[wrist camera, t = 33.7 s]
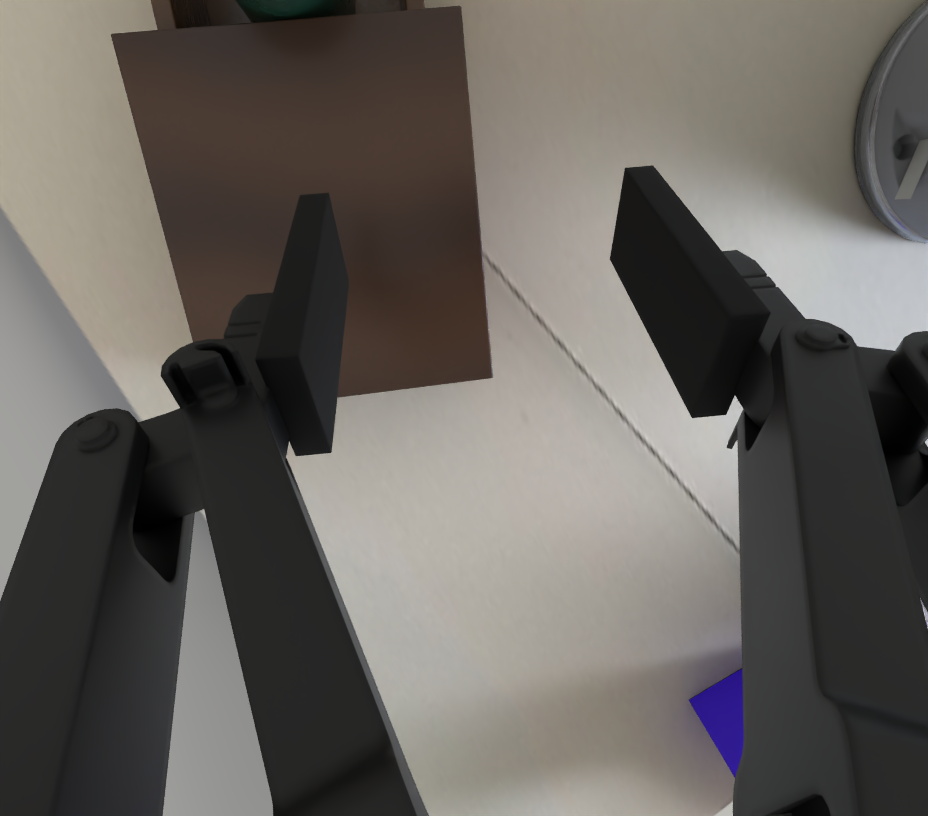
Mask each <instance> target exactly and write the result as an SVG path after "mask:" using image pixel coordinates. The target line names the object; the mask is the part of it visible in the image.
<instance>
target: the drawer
mask: <svg viewBox="0 0 928 816" xmlns="http://www.w3.org/2000/svg"><path fill="white" fill-rule="evenodd" d="M151 3H152V8H153V12H154V16H155V20H156V24H157V28H158V30H166V29H178V28H190V27H203V26H215V25H228V24H240V23H252V22H251V20H250V19H249V18H248V16H247V15H246V14H245V12H244V11H243V10H242V9H241V7H240V6H239V5H238V3H237V2H236V1H235V0H151ZM414 9H425V8H424V0H356V14H364V13H376V12H389V11H401V10H414Z"/></svg>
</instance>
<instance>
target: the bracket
mask: <svg viewBox="0 0 928 816" xmlns="http://www.w3.org/2000/svg"><path fill="white" fill-rule="evenodd" d="M689 701H690V703H691V705H692V707H693V708H694V710H695V712H696V713H697V715H698V717H699V718H700V720H701V722H702V723H703V725H704V727H705V728H706V730H707V732H708V733H709V735H710V737H711V738H712V740H713V742H714V743H715V745H716V747H717V748H718V750H719V752H720V753H721V755H722V757H723V758H724V760H725V762H726V764H727V765H728V767H729V769H730V770H731V772H732V774H733V775H734V777H736V772H737V769H738V766H739V763H740V760H741V756H742V751H743V739H744V729H743V679H742V669H740V670H738V671H737V672H735V673H733V674H732V675H730V676H728V677H727V678H725V679H723V680H722V681H720V682H718V683H717V684H715V685H713V686H712V687H710V688H708V689H707V690H705V691H703V692H702V693H700V694H698V695H697V696H695V697H693V698H692V699H690V700H689Z"/></svg>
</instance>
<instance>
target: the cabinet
mask: <svg viewBox="0 0 928 816" xmlns="http://www.w3.org/2000/svg"><path fill="white" fill-rule="evenodd" d="M111 37H112V41H113V45H114V49H115V52H116V56H117V60H118V64H119V67H120V71H121V75H122V78H123V82H124V86H125V90H126V93H127V97H128V101H129V105H130V108H131V112H132V116H133V119H134V123H135V127H136V131H137V134H138V138H139V142H140V146H141V149H142V153H143V157H144V160H145V164H146V168H147V172H148V175H149V179H150V183H151V187H152V190H153V194H154V198H155V201H156V205H157V209H158V213H159V216H160V220H161V224H162V228H163V231H164V235H165V239H166V242H167V246H168V250H169V254H170V257H171V261H172V265H173V269H174V272H175V276H176V280H177V283H178V287H179V291H180V295H181V298H182V302H183V306H184V310H185V313H186V317H187V321H188V324H189V328H190V332H191V336H192V339H193V342H196V341H201V340H205V339H224V336H223V335H224V332H225V330H226V327H228V321H229V318H230V315H231V312H232V310H233V308H234V307H235V306H236V305H237V304H238V303H239V302H240V301H241V300H242V299H243V298H244V297H245V296H246V295H251V294H262V293H273V291H274V288H275V284H276V280H277V277H278V273H279V269H280V266H281V262H282V258H283V254H284V251H285V247H286V243H287V240H288V236H289V232H290V229H291V225H292V221H293V218H294V214H295V210H296V207H297V203H298V199H299V196H300V195H306V194H318V193H329V196H330V200H331V205H332V209H333V213H334V218H335V222H336V226H337V231H338V235H339V239H340V244H341V248H342V253H343V257H344V261H345V266H346V270H347V274H348V279H349V290H348V299H347V309H346V318H345V328H344V337H343V347H342V357H341V366H340V376H339V385H338V395H337V398H338V397H346V396H354V395H362V394H370V393H378V392H386V391H393V390H401V389H409V388H417V387H425V386H433V385H441V384H449V383H457V382H465V381H473V380H480V379H488V378H493V371H492V359H491V348H490V336H489V324H488V313H487V301H486V290H485V278H484V266H483V255H482V243H481V231H480V220H479V208H478V197H477V185H476V173H475V162H474V150H473V139H472V127H471V115H470V104H469V92H468V81H467V69H466V57H465V46H464V34H463V22H462V11H461V6H451V7H438V8H426V9H414V10H401V11H389V12H376V13H364V14H352V15H339V16H327V17H314V18H302V19H290V20H277V21H265V22H252V23H240V24H228V25H215V26H203V27H190V28H178V29H166V30H153V31H141V32H128V33H116V34H111Z"/></svg>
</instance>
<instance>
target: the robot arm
mask: <svg viewBox="0 0 928 816" xmlns="http://www.w3.org/2000/svg"><path fill="white" fill-rule="evenodd" d="M855 162H856V170H857V175H858V179H859V183H860V186H861V189H862V192H863V194H864V196H865V198H866V201H867V203H868V204H869V206H870V208H871V209H872V211H873V212H874V213H875V215H876V216H877V217H878V218H879V220H880V221H881V222H883V223H884V224H885V225H886V226H887V227H888V228H889V229H891V230H892V231H893V232H895V233H897V234H899V235H900V236H902V237H905V238H907V239H910V240H913V241H917V242H921V243H928V0H927V1H926V2H925V3H924V4H922V5H921V6H920V7H919V8H918V9H917V10H916V11H915V12H914V13H913V14H912V15H911V16H910V17H909V18H908V19H907V20H906V21H905V22H904V23H903V25H902V26H901V27H900V28H899V29H898V31H897V32H896V33H895V35H894V36H893V37H892V39H891V40H890V42H889V43H888V45H887V46H886V48H885V49H884V51H883V52H882V54H881V56H880V58H879V60H878V61H877V63H876V65H875V67H874V69H873V71H872V74H871V76H870V78H869V80H868V83H867V86H866V88H865V91H864V94H863V97H862V101H861V104H860V108H859V113H858V117H857V124H856V131H855ZM610 260H611V262H612V264H613V266H614V268H615V270H616V272H617V274H618V276H619V278H620V280H621V282H622V284H623V285H624V287H625V289H626V291H627V293H628V295H629V297H630V299H631V301H632V303H633V305H634V307H635V309H636V311H637V313H638V315H639V316H640V318H641V320H642V322H643V324H644V326H645V328H646V330H647V332H648V334H649V336H650V338H651V340H652V342H653V344H654V345H655V347H656V349H657V351H658V353H659V355H660V357H661V359H662V361H663V363H664V365H665V367H666V369H667V371H668V373H669V375H670V376H671V378H672V380H673V382H674V384H675V386H676V388H677V390H678V392H679V394H680V396H681V398H682V400H683V402H684V404H685V406H686V407H687V409H688V411H689V413H690V415H691V417H692V418H697V417H708V416H718V415H726V414H727V411H728V409H729V407H730V405H731V402H732V400H733V398H734V396H736V397H737V399H738V401H739V402H740V404H741V405H742V407H743V411H742V413H741V415H740V418H739V420H738V422H737V424H736V426H735V428H734V430H733V433H732V435H731V437H730V439H729V441H728V445H727V448H730V449H732V448H733V446H734V444H735V442H736V441H737V440H738V481H739V531H740V580H741V630H742V679H743V729H744V739H743V751H742V756H741V760H740V763H739V766H738V769H737V772H736V777H735V784H734V792H733V816H928V628H927V624H926V620H925V616H924V612H923V608H922V604H921V600H922V602H923V604H924V606H925V608H926V610H927V612H928V447H927V445H926V444H925V441H926V440H927V439H928V331H923V332H914V333H911V334H910V335H908V336H906V337H904V339H903V340H902V342H901V343H900V345H899V346H898V348H897V349H896V351H891V350H883V349H874V348H866V347H858V346H857V345H856V344H855V342H854V340H853V338H852V337H851V336H850V335H849V334H848V333H846V332H845V331H844V330H843V329H841V328H839V327H837V326H835V325H832V324H830V323H828V322H824V321H819V320H815V319H805V318H804V317H803V315H802V314H801V313H800V312H799V311H798V310H797V308H796V307H795V306H794V305H793V304H792V303H791V302H790V300H789V299H788V298H787V297H786V296H785V295H784V293H783V292H782V291H781V290H780V289H779V288H778V287H776V284H775V283H774V282H773V281H772V280H771V278H770V277H767V274H766V273H765V271H764V270H763V269H762V268H761V267H760V266H759V264H758V263H757V262H756V261H755V260H753V259H751V258H750V257H748V256H746V255H744V254H743V253H741V252H739V251H738V250H733V251H721V250H720V248H719V247H718V246H717V245H716V243H715V242H714V241H713V240H712V238H711V237H710V236H709V235H708V233H707V232H706V231H705V230H704V228H703V227H702V226H701V225H700V223H699V222H698V221H697V220H696V218H695V217H694V216H693V215H692V213H691V212H690V211H689V210H688V208H687V207H686V206H685V205H684V203H683V202H682V201H681V200H680V198H679V197H678V196H677V195H676V193H675V192H674V191H673V190H672V188H671V187H670V186H669V185H668V183H667V182H666V181H665V180H664V178H663V177H662V176H661V175H660V173H659V172H658V171H657V170H656V168H655V167H654V166H642V167H630V168H625V171H624V177H623V183H622V189H621V195H620V202H619V208H618V214H617V220H616V226H615V232H614V238H613V244H612V250H611V256H610ZM348 290H349V279H348V274H347V270H346V266H345V261H344V257H343V253H342V248H341V244H340V239H339V235H338V231H337V226H336V222H335V218H334V213H333V209H332V205H331V200H330V196H329V193H318V194H306V195H300V196H299V199H298V203H297V207H296V210H295V214H294V218H293V221H292V225H291V229H290V232H289V236H288V240H287V243H286V247H285V251H284V254H283V258H282V262H281V266H280V269H279V273H278V277H277V280H276V284H275V288H274V291H273V293H262V294H251V295H246V296H245V297H244V298H243V299H242V300H241V301H240V302H239V303H238V304H237V305H236V306H235V307H234V308H233V310H232V312H231V315H230V318H229V321H228V327H226V330H225V332H224V335H223V336H224V339H205V340H201V341H196V342H193V343H190V344H188V345H186V346H184V347H181V348H180V349H178V350H177V351H176V352H174V353H173V354H172V355H170V356H169V357H168V358H167V360H166V361H165V363H164V364H163V365H162V370H161V377H162V379H163V380H164V382H165V384H166V385H167V387H168V388H169V390H170V392H171V393H172V395H173V397H174V398H175V400H176V402H177V403H178V405H179V407H180V408H179V409H177V410H174V411H172V412H169V413H167V414H163V415H160V416H157V417H154V418H151V419H148V420H145V421H142V422H137V420H136V419H135V418H134V417H133V416H132V415H131V413H130V412H128V411H125V410H121V409H104V410H100V411H97V412H94V413H91V414H88V415H86V416H85V417H83V418H81V419H79V420H78V421H76V422H74V423H73V424H72V425H71V426H69V427H68V428H67V429H66V430H65V431H64V432H63V433H62V434H61V436H60V438H59V440H58V441H57V443H56V445H55V448H54V451H53V453H52V456H51V459H50V462H49V465H48V468H47V470H46V473H45V476H44V479H43V482H42V485H41V487H40V490H39V493H38V496H37V499H36V502H35V505H34V507H33V510H32V513H31V516H30V519H29V522H28V524H27V527H26V530H25V533H24V535H23V538H22V541H21V544H20V547H19V550H18V552H17V555H16V558H15V561H14V564H13V567H12V570H11V572H10V575H9V578H8V581H7V584H6V586H5V589H4V592H3V595H2V598H1V601H0V816H162V815H163V806H164V796H165V787H166V777H167V768H168V758H169V750H170V740H171V730H172V721H173V712H174V702H175V693H176V683H177V674H178V665H179V655H180V646H181V637H182V627H183V618H184V609H185V599H186V590H187V580H188V570H189V561H190V552H191V542H192V533H193V524H194V514H195V512H197V511H200V510H202V509H204V510H205V514H206V518H207V523H208V527H209V531H210V535H211V540H212V544H213V548H214V553H215V557H216V561H217V565H218V570H219V574H220V578H221V582H222V587H223V591H224V595H225V599H226V604H227V608H228V612H229V616H230V621H231V625H232V629H233V634H234V638H235V642H236V647H237V650H238V655H239V659H240V664H241V667H242V672H243V676H244V681H245V685H246V689H247V693H248V698H249V702H250V706H251V710H252V715H253V719H254V723H255V728H256V732H257V736H258V740H259V745H260V749H261V753H262V758H263V762H264V766H265V770H266V775H267V779H268V783H269V787H270V792H271V797H272V803H273V816H429V815H428V813H427V810H426V808H425V806H424V803H423V801H422V799H421V796H420V794H419V792H418V789H417V787H416V784H415V782H414V779H413V777H412V774H411V772H410V769H409V767H408V764H407V762H406V759H405V757H404V754H403V752H402V749H401V746H400V744H399V741H398V739H397V736H396V734H395V731H394V729H393V726H392V724H391V721H390V719H389V716H388V713H387V711H386V708H385V706H384V703H383V701H382V698H381V696H380V693H379V691H378V688H377V686H376V683H375V680H374V678H373V675H372V673H371V670H370V668H369V665H368V663H367V660H366V658H365V655H364V653H363V650H362V647H361V645H360V642H359V640H358V637H357V635H356V632H355V630H354V627H353V625H352V622H351V619H350V617H349V614H348V612H347V609H346V607H345V604H344V602H343V599H342V597H341V594H340V592H339V589H338V586H337V584H336V581H335V579H334V576H333V574H332V571H331V569H330V566H329V564H328V561H327V559H326V556H325V553H324V551H323V548H322V546H321V543H320V541H319V538H318V536H317V533H316V531H315V528H314V526H313V523H312V520H311V518H310V515H309V513H308V510H307V508H306V505H305V503H304V500H303V498H302V495H301V492H300V490H299V487H298V485H297V482H296V480H295V477H294V475H293V472H292V470H291V467H290V465H289V463H288V461H287V458H286V455H287V449H288V443H289V441H290V444H291V446H292V448H293V451H294V453H295V455H296V456H303V455H314V454H324V453H331V452H332V443H333V433H334V423H335V414H336V404H337V395H338V385H339V376H340V366H341V357H342V347H343V337H344V328H345V318H346V309H347V299H348ZM920 598H921V600H920Z"/></svg>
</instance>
